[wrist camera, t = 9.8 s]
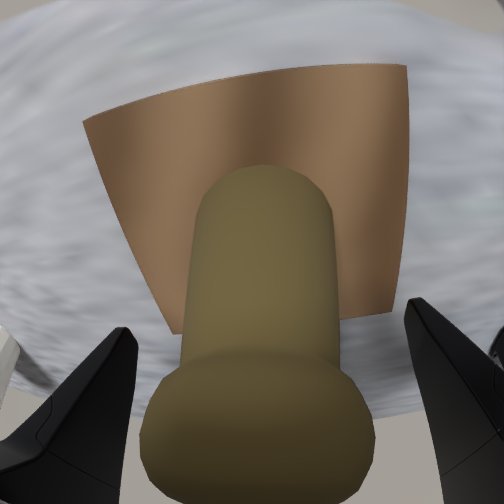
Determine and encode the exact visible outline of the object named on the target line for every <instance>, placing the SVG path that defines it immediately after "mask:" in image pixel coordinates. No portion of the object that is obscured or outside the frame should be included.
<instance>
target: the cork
mask: <svg viewBox="0 0 504 504" xmlns="http://www.w3.org/2000/svg"><path fill="white" fill-rule="evenodd" d="M139 435H140V436H139V437H140V458H141V460H142V463H143V466H144V468H145V471H146V473H147V475H148V478H149V480H150V481H151V482H152V483H153V484H154V485H155V486H156V487H157V488H158V489H159V490H160V491H161V492H162V493H164V494H165V495H166V496H167V497H169V498H171V499H174V500H176V501H178V502H181V503H183V504H339V503H341V502H343V501H345V500H346V499H348V498H349V497H351V496H352V495H353V494H355V493H356V492H357V491H358V490H359V488H360V487H361V485H362V483H363V481H364V479H365V477H366V475H367V473H368V471H369V469H370V466H371V464H372V462H373V454H374V446H375V438H376V437H375V432H374V426H373V421H372V415H371V413H370V411H369V409H368V407H367V405H366V403H365V401H364V399H363V397H362V395H361V393H360V391H359V390H358V388H357V387H356V385H355V383H354V382H353V380H352V379H351V378H350V377H349V376H347V375H346V374H345V373H343V372H342V371H341V370H340V326H339V297H338V278H337V261H336V247H335V235H334V224H333V214H332V209H331V207H330V205H329V203H328V201H327V199H326V197H325V195H324V193H323V192H322V191H321V190H320V189H319V188H318V187H317V186H316V185H315V184H314V183H313V182H312V181H311V180H310V179H309V178H308V177H306V176H304V175H302V174H300V173H297V172H295V171H293V170H291V169H289V168H286V167H281V166H272V165H263V164H260V165H255V166H250V167H245V168H239V169H237V170H235V171H233V172H231V173H229V174H228V175H226V176H224V177H222V178H220V179H219V180H217V181H216V182H215V184H214V185H213V186H212V187H211V188H210V189H209V190H208V191H207V193H206V194H205V195H204V196H203V199H202V201H201V204H200V206H199V209H198V212H197V214H196V221H195V228H194V236H193V243H192V251H191V259H190V267H189V275H188V284H187V293H186V303H185V313H184V323H183V334H182V346H181V358H180V367H179V368H177V369H176V370H175V371H173V372H172V373H170V374H169V375H167V376H166V377H164V378H163V379H162V381H161V383H160V384H159V386H158V387H157V389H156V391H155V392H154V394H153V396H152V397H151V399H150V401H149V404H148V407H147V409H146V412H145V416H144V419H143V423H142V427H141V430H140V434H139Z"/></svg>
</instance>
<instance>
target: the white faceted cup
mask: <svg viewBox="0 0 504 504" xmlns="http://www.w3.org/2000/svg"><path fill="white" fill-rule="evenodd" d="M19 354H20V347H19V346H18V344H17V342H16V341H15V339H14V338H13V337H12V336H11V335H10V334H9V333H8V332H7V331H6V330H5V329H4V328H3V327H2V326H0V409H1V405H2V402H3V399H4V396H5V393H6V390H7V387H8V384H9V381H10V378H11V375H12V373H13V370H14V367H15V365H16V362H17V359H18V357H19Z"/></svg>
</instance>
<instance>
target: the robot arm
mask: <svg viewBox="0 0 504 504" xmlns="http://www.w3.org/2000/svg"><path fill="white" fill-rule="evenodd" d="M404 325H405V329H406V334H407V339H408V344H409V349H410V354H411V359H412V364H413V368H414V372H415V375H416V379H417V382H418V385H419V389H420V393H421V396H422V400H423V404H424V407H425V411H426V415H427V419H428V423H429V427H430V432H431V435H432V440H433V445H434V449H435V454H436V459H437V464H438V469H439V475H440V481H441V487H442V493H443V500H444V504H504V371H503V370H502V369H501V368H500V367H499V366H498V365H497V364H495V362H494V361H493V360H492V359H491V358H496V357H499V359H500V361H501V364H502V366H503V368H504V330H503V332H502V333H501V335H500V337H499V339H498V341H497V342H496V344H495V346H494V348H493V349H492V351H491V353H490V356H491V358H490V357H489V356H487V355H486V354H485V353H484V352H483V351H482V350H481V349H480V348H479V347H478V346H477V345H476V344H474V343H473V342H472V341H471V340H470V339H469V338H468V337H467V336H466V335H464V334H463V333H462V332H461V331H460V330H459V329H458V328H457V327H455V326H454V325H453V324H452V323H451V322H450V321H449V320H447V319H446V318H445V317H444V316H443V315H442V314H440V313H439V312H438V311H437V310H436V309H435V308H433V307H432V306H431V305H430V304H429V303H427V302H426V301H425V300H424V299H423V298H421V297H418V298H412V299H409V300H408V303H407V307H406V311H405V315H404ZM138 349H139V347H138V343H137V341H136V339H135V337H134V336H133V334H132V333H131V331H130V330H129V328H127V327H117V328H115V329H114V330H113V331H112V332H111V333H110V334H109V335H108V336H107V337H106V338H105V339H104V340H103V341H102V342H101V343H100V344H99V345H98V346H97V347H96V348H95V349H94V350H93V351H92V352H91V353H90V354H89V355H88V357H87V358H86V359H85V360H84V361H83V362H82V363H81V364H80V365H79V366H78V367H77V368H76V369H75V370H74V371H73V372H72V373H71V374H70V375H69V376H68V377H67V378H66V380H65V381H64V382H63V383H62V384H61V385H60V386H59V387H58V388H57V389H56V390H55V391H54V392H53V393H52V395H50V397H49V398H48V399H47V400H46V401H45V402H44V403H43V404H42V405H41V406H40V407H39V408H38V409H37V410H36V411H35V412H34V413H33V414H32V415H31V416H30V417H29V418H28V419H27V420H26V421H25V422H24V423H23V424H22V425H20V426H19V427H18V428H17V429H16V430H15V431H14V432H13V433H12V434H11V435H10V436H8V437H7V438H6V439H4V440H2V441H0V504H119V496H120V485H121V476H122V468H123V460H124V453H125V445H126V438H127V432H128V425H129V419H130V413H131V407H132V402H133V396H134V390H135V382H136V371H137V359H138Z"/></svg>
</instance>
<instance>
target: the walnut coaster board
mask: <svg viewBox="0 0 504 504" xmlns="http://www.w3.org/2000/svg"><path fill="white" fill-rule="evenodd" d="M82 122H83V125H84V128H85V131H86V134H87V137H88V140H89V143H90V146H91V149H92V152H93V155H94V158H95V161H96V164H97V166H98V169H99V172H100V175H101V177H102V180H103V183H104V185H105V188H106V190H107V193H108V196H109V198H110V201H111V203H112V206H113V208H114V211H115V213H116V216H117V218H118V220H119V223H120V225H121V227H122V230H123V232H124V234H125V237H126V239H127V241H128V244H129V246H130V248H131V250H132V253H133V255H134V257H135V259H136V261H137V264H138V266H139V268H140V270H141V272H142V274H143V276H144V278H145V281H146V283H147V285H148V287H149V289H150V291H151V293H152V295H153V297H154V299H155V301H156V303H157V305H158V307H159V309H160V311H161V313H162V315H163V317H164V318H165V320H166V322H167V324H168V326H169V328H170V330H171V332H172V334H173V335H174V334H183V323H184V313H185V303H186V293H187V284H188V275H189V267H190V259H191V251H192V243H193V236H194V228H195V221H196V214H197V212H198V209H199V206H200V204H201V201H202V199H203V196H204V195H205V194H206V193H207V191H208V190H209V189H210V188H211V187H212V186H213V185H214V184H215V182H216V181H217V180H219V179H220V178H222V177H224V176H226V175H228V174H229V173H231V172H233V171H235V170H237V169H239V168H245V167H250V166H255V165H260V164H263V165H272V166H281V167H286V168H289V169H291V170H293V171H295V172H297V173H300V174H302V175H304V176H306V177H308V178H309V179H310V180H311V181H312V182H313V183H314V184H315V185H316V186H317V187H318V188H319V189H320V190H321V191H322V192H323V193H324V195H325V197H326V199H327V201H328V203H329V205H330V207H331V209H332V214H333V224H334V235H335V247H336V261H337V278H338V297H339V320H341V319H348V318H355V317H362V316H368V315H375V314H381V313H387V312H392V309H393V304H394V298H395V293H396V287H397V281H398V274H399V268H400V261H401V253H402V245H403V237H404V228H405V218H406V206H407V192H408V173H409V97H408V79H407V66H405V65H399V64H339V65H322V66H309V67H298V68H289V69H280V70H272V71H265V72H258V73H252V74H246V75H240V76H234V77H229V78H224V79H219V80H214V81H209V82H205V83H200V84H196V85H192V86H187V87H183V88H179V89H176V90H172V91H168V92H164V93H161V94H157V95H154V96H150V97H147V98H144V99H140V100H137V101H134V102H131V103H128V104H125V105H122V106H119V107H116V108H113V109H110V110H108V111H105V112H102V113H99V114H97V115H94V116H92V117H90V118H88V119H86V120H84V121H82Z"/></svg>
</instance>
